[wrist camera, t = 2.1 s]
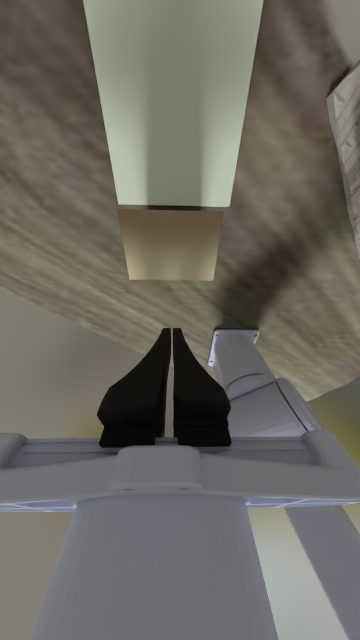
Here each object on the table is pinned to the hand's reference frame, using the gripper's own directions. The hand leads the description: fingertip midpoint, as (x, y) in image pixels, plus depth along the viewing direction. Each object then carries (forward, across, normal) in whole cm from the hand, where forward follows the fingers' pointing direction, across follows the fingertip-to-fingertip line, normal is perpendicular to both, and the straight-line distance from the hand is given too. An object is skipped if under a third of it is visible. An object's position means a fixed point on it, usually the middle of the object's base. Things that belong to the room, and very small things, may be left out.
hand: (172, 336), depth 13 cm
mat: (+10, 0, -16) cm, 19 cm away
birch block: (+10, 0, -7) cm, 13 cm away
